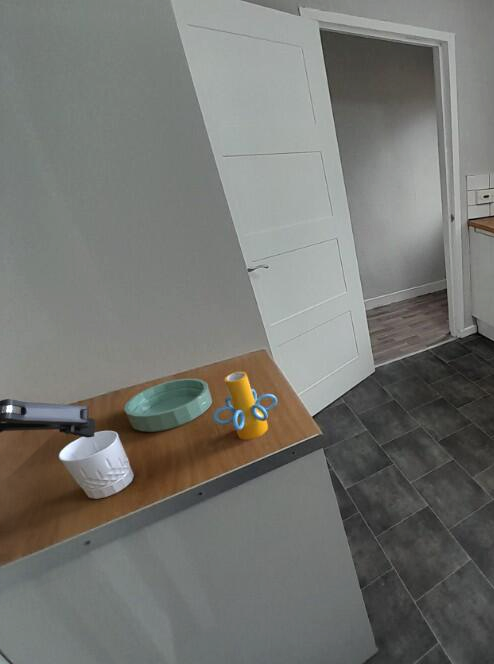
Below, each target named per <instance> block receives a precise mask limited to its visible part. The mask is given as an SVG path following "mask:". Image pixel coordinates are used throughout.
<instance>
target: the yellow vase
mask: <svg viewBox="0 0 494 664" xmlns="http://www.w3.org/2000/svg"><path fill="white" fill-rule="evenodd" d="M223 379H224V383H225V385H226V389H227V392H228V394H229V396H226V397H225V399H224V403H225V406H221V407H219V408H218V409H216V410H215V411H214V412H213V414H212V420H213V421H214V422H215V424H218V425H227V424H230V423H232V425H233V428H234V430H235V431H236V434H237V436H238V438H240V439H241V440H243V441H244V440H245V441H248V440H254V439H257V438H259V437H261V436H262V435H264V434H265V433H266V432H267V431H268V429H269V425H268V421H267V419H268V418H269V416H268V415H269V414H268V411H270V410H273V409H274V408H275V407H276V406H277V404H278V398H277V397H276V396H275V395H274V394H271V393H264V394H262V395H260V396H259V397H258V394H257V392H256V390H255V389H254V388H252V387H251V384H250V380H249V378H248V374H247V372H245V371H235V372H232V373H229V374H227V375H226V376H225V377H224V378H223ZM266 398H270V399H271V400H272V403H271V404H270V405H269V406H266V407H265V406H262V405H261V404H260V403H261V401H262V400H263V399H266ZM230 401H231V402H230ZM231 403H232V404H231ZM223 411H230V412H231V413H232V415H231V417H230V418H228V419H226V420H221V419H220V418H218V416H219V414H220V413H222V412H223Z"/></svg>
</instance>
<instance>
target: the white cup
mask: <svg viewBox="0 0 494 664" xmlns="http://www.w3.org/2000/svg"><path fill="white" fill-rule="evenodd" d="M58 459H59V460H60V462H61V463H62V465H63V466H64V467H65V469H66V470H67V472H68V473H69V474H70V476H71V477H72V478H73V480H74V481H75V482H76V484H77V485H78V486H79V487H80V488H81V489H82V490H83V491H84V492H85V494H86V496H87V498H90V499H95V500H97V499H102V498H107V497H110V496H112V495H115V494H118V493H119V492H121V491H122V490H124V489H126V488H127V487H128V486H129V485H130V484H131V482H132V481H133V479H134V476H135V474H134V472H133V470H132V467H131V465H130V461H129V457H128V455H127V453H126V450H125V448H124V446H123V444H122V441H121V439H120V437H119V434H118V432H116V431H113V430H102V431H96V432H94V437H89V438H87V437H82V436H80V437H79V438H76V439H75V440H73V441H71V442H70V443H68V444H67V445H65V446H64V447H63V448H62V449H61V450H60V452H59V454H58Z"/></svg>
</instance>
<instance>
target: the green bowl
mask: <svg viewBox="0 0 494 664" xmlns="http://www.w3.org/2000/svg"><path fill="white" fill-rule="evenodd" d="M212 404H213V396H212V394H211V390H210V387H209V384H208V383H207V382H206V381H205V380H203V379H199V378H179V379H173V380H169V381H165V382H162V383H159V384H156V385H153V386H150V387H148V388H146V389H144V390H142V391H140V392H138V393H137V394H135V395H133V396H132V397H131V398H130V399H129V400H128V401H127V402H126V403H125V404H124V408H123V410H124V414H125V415H126V417H127V420H128V422H129V424H130V426H131V427H132V428H133V429H134V430H137V431H140V432H148V433H153V432H154V433H155V432H156V433H157V432H163V431H168V430H171V429H175V428H178V427H181V426H183V425H185V424H188V423H189V422H191V421H194V420H195V419H197V418H199V417H200V416H202V415H203V414H204V413H205V412H206V411H207V410H208V409H209V408H210V407H211V405H212Z"/></svg>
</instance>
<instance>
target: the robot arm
mask: <svg viewBox="0 0 494 664" xmlns="http://www.w3.org/2000/svg"><path fill="white" fill-rule="evenodd" d="M89 413H90V406H88V405H76V404H75V405H73V404H61V403H59V404H58V403H43V402H42V403H41V402H27V401H22V400H17V399H11V398H5V399H1V400H0V433H3V432H13V431H15V432H17V431H19V432H20V431H42V430H45V431H46V430H59V433H64V434H65V435H73V436H79V437H87V438H89V437H94V433H95V428H96V426H95V425H96V419H94V418H91V417H89Z"/></svg>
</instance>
